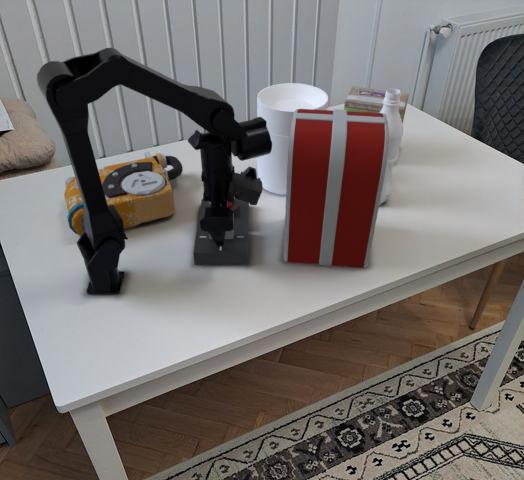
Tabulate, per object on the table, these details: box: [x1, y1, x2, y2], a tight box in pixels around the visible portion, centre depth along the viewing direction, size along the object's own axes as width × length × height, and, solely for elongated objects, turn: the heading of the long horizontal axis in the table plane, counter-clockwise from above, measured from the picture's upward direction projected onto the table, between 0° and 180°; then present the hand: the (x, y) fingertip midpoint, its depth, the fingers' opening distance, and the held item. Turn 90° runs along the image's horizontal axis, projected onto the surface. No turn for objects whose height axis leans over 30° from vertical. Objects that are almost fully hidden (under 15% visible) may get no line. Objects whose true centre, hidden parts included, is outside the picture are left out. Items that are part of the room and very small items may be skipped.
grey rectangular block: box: [209, 230, 234, 239], centre depth 108 cm, size 5×2×4 cm, turn 90°
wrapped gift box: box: [283, 108, 389, 269], centre depth 104 cm, size 16×18×27 cm
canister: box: [256, 82, 329, 196], centre depth 125 cm, size 16×16×20 cm
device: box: [63, 151, 184, 237], centre depth 121 cm, size 23×8×30 cm
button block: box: [197, 197, 250, 232], centre depth 118 cm, size 10×11×4 cm
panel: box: [192, 222, 249, 266], centre depth 111 cm, size 11×11×3 cm
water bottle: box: [379, 87, 404, 206], centre depth 116 cm, size 7×7×25 cm
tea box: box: [343, 86, 410, 124], centre depth 136 cm, size 15×10×15 cm
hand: (221, 235), depth 109 cm, fingers open, 7 cm apart
